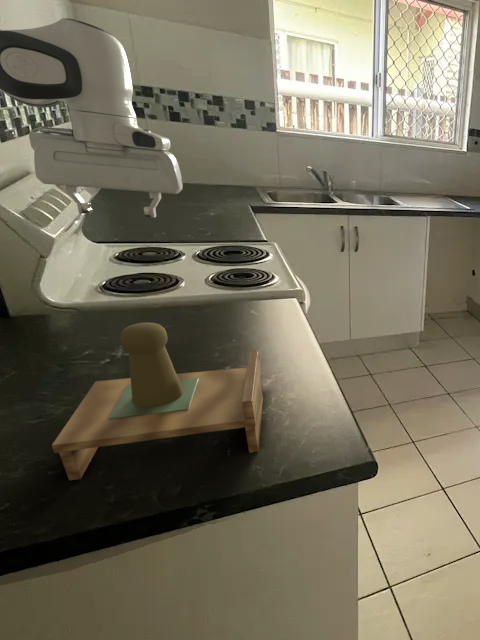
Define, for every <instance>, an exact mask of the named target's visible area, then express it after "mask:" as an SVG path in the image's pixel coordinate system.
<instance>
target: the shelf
mask: <svg viewBox="0 0 480 640" xmlns="http://www.w3.org/2000/svg"><path fill="white" fill-rule="evenodd" d="M259 354H260V353H259V350H258V349H256V350H249V354H248V360H247V367H238V368H225V369H214V370H204V371H193V372H182V373H176V375H177V377H178V380H179V382H180V384H181V387H182V389H183V394H182V395H181V396H180V397H179V398H178V399H177V400H175V401H173V402H171V403H168V404H165V405H161V406H156V407H140V406H137V405H135V404H134V403H133V402H132V390H131V378H130V377H128V378H119V379H108V380H107V379H106V380H96V381H94V383H93V384H92V386H91V387H90V389H89V390H88V391H87V393H86V395H85V396H84V398H83V399H82V401H81V402H80V404H79V405H78V406H77V408H76V409H75V411H74V412H73V414H72V415H71V417H70V418H69V419H68V420H67V422H66V423H65V425H64V426H63V428H62V430H61V431H60V433H59V434H58V435H57V437H56V438H55V440H54V441H53V442H52V444H51V448H52V450H53V453H54V454H59V456H60V459H61V462H62V465H63V467H64V470H65V473H66V476H67V478H68V481H77V480H81V479H82V477H83V476H84V474H85V472H86V470H87V469H88V466H89V465H90V463H91V462H92V459H93V457H94V456H95V454H96V452H97V450H98V448H101V447H109V446H117V445H124V444H125V445H126V444H133V443H138V442H146V441H147V442H148V441H154V440H155V441H156V440H161V439H168V438H169V439H170V438H177V437H183V436H191V435H198V434H199V435H200V434H205V433H213V432H221V431H227V430H235V429H243V428H244V430H245V435H246V441H247V448H248V453H250V454H252V453H258V452H259V451H260V450H259V449H260V439H261V438H260V437H261V425H262V412H263V402H264V401H263V400H264V397H263V390H262V382H261V375H262V369H261V362H260V356H259Z"/></svg>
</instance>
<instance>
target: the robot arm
mask: <svg viewBox="0 0 480 640" xmlns="http://www.w3.org/2000/svg"><path fill="white" fill-rule="evenodd" d="M126 53H127V52H126V51H125V49H124V46H123V44H122V43H121V42H120V40H119V39H117V38H116V37H115V36H114V35H113V34H112V33H110V32H108V31H106V30H104V29H103V28H100V27H98V26H96V25H93V24H90V23H88V22H84V21H82V20H77V19H75V18H74V19H73V18H66V17H65V18H61V19H59V20H57V21H56V22H53V23H50V24H47V25H42V26H38V27H33V28H32V27H31V28H24V29H23V28H21V29H2V28H1V29H0V91H1V92H3V93H4V94H5V95H7V96H8V97H10V98H11V99H12V100H14V101H16V102H18V103H21V104H23V105H26V106H28V107H34V108H40V109H41V108H52V107H56V106H58V105H60V104H62V103H63V102H64V103H66V105H67V106H68V111H69V117H70V123H71V128H66V127H50V126H47V125H39V126H38V127H35V128H33V129H31V130H30V131H29V133H28V138H29V144H30V146H31V149H32V150H33V151H34V152H33V154H34V155H33V162H34V163H33V164H34V172H35V173H34V174H35V177H36V179H37V180H39V181H40V183H42V184H44V185H55V186H65V190H66V193H67V195H68V196H69V197H70V198H71V200H72V201H74V203H76V205H77V211H78V213H79V214H85V215H86V214H88V215H90V214H91V215H92V214H93V208H92V202H86V201H85V200H84V198H83V197H82V196H81V195H80V193H81V192H82V188H93V189H94V188H95V189H106V190H119V191H130V192H131V191H132V192H133V191H134V192H145V193H148V195H149V199H152V201H151V202H150V204H149V206H144V207H142V208H143V212H144V213H143V215H144V218H153V219H154V218H156V217H157V207H158V205H159V202H160V201H161V200H162V194H170V195H171V194H172V195H176V194H177V195H178V194H179V193H181V192H182V191H183V187H184V185H183V184H184V183H183V179H182V178H183V177H182V172H181V169H180V166H179V162H178V160H177V158H176V157H175V155H174V154H173V153H172V152H170V151H169V150H171V147H172V146H171V141H170V139H169V138H168V137H166V136H163V135H161V134H157V133H155V132H152V131H151V130H149V129H146V128H142V127H139V125H138V121H137V120H138V119H137V115H136V112H135V110H134V107H133V101H132V100H133V99H132V98H133V94H134V89H133V88H134V87H133V80H132V75H131V70H130V65H129V60H128V57H127V54H126ZM38 131H39V132H38Z"/></svg>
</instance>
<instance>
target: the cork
mask: <svg viewBox="0 0 480 640" xmlns="http://www.w3.org/2000/svg"><path fill="white" fill-rule="evenodd" d="M168 339H169V338H168V333H167V330H166V329H165V327H163V326H162V325H161V324H159V323H156V322H139V323H138V322H137V323H134V324H131V325H128V326H127V327H125V328H123V329H122V330H121V332H120V334H119V342H120V345H121V347H122V349H123V350H125V351H126V352H127V353H128V365H129V378H131V390H132V402H133V403H134V404H135V405H137V406H140V407H156V406H161V405H165V404H168V403H171V402H173V401H175V400H177V399H178V398H179V397H180V396H181V395H182V394H183V389H182V387H181V384H180V382H179V380H178V377H177V375H176V374H177V372H176V370H175V368H174V365H173V362H172V360H171V357H170V355H169V353H168V350H167V348H166V344H167V343H168Z"/></svg>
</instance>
